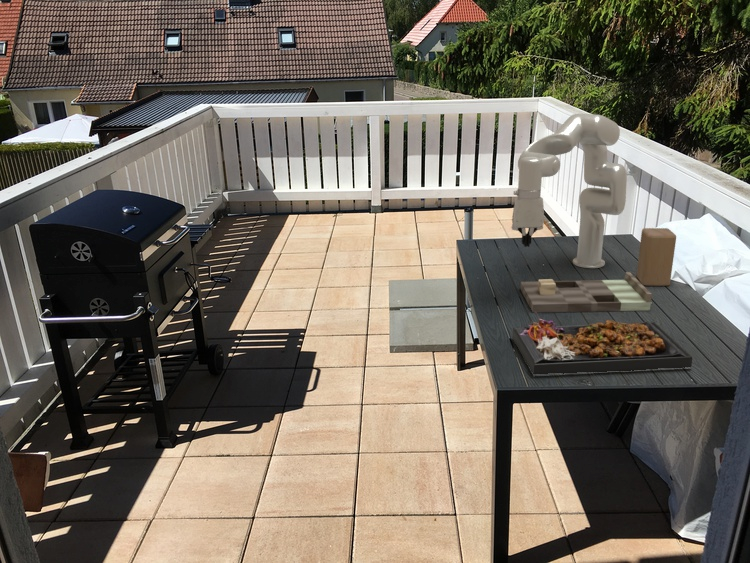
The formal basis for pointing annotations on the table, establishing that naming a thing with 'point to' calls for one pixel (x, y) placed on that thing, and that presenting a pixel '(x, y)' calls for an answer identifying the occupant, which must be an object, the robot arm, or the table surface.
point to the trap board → (589, 296)
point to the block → (656, 256)
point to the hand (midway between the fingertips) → (526, 245)
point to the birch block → (546, 287)
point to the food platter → (598, 347)
